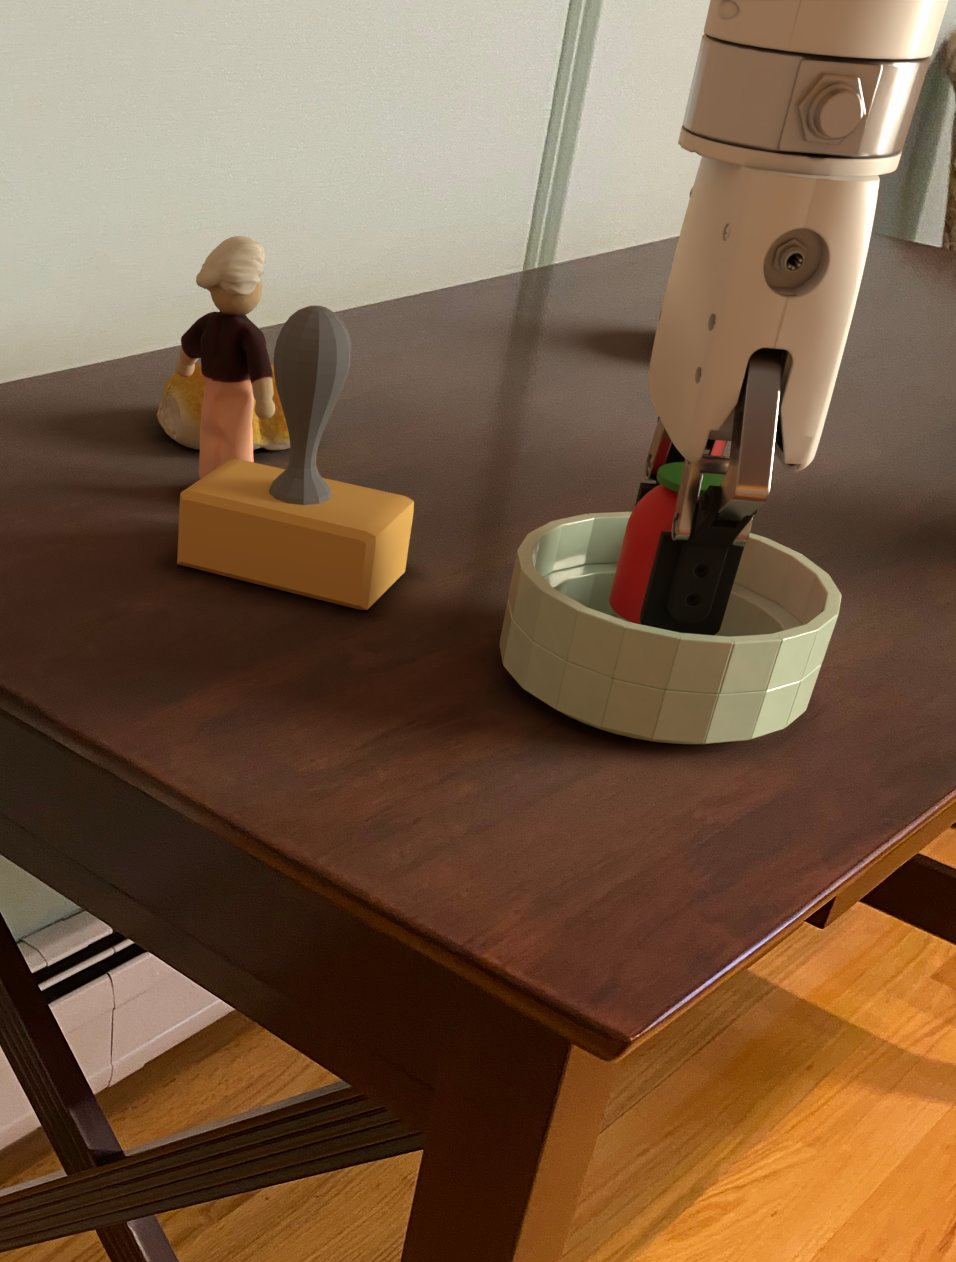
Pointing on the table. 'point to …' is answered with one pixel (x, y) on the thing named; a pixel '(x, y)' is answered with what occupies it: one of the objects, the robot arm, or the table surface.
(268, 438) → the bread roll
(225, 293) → the grandmother figurine
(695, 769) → the table surface
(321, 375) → the rubber stamp
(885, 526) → the table surface
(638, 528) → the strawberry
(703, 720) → the bowl
